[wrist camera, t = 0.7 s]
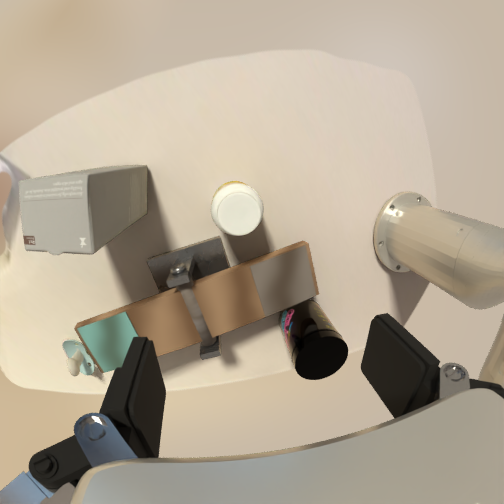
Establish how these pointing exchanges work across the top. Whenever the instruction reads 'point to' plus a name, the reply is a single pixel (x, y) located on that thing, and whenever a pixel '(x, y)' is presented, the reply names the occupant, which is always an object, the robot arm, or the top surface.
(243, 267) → the beam
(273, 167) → the top surface
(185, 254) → the beam stand
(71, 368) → the pacifier
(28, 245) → the skincare box
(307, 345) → the supplement container
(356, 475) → the robot arm
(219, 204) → the supplement bottle
